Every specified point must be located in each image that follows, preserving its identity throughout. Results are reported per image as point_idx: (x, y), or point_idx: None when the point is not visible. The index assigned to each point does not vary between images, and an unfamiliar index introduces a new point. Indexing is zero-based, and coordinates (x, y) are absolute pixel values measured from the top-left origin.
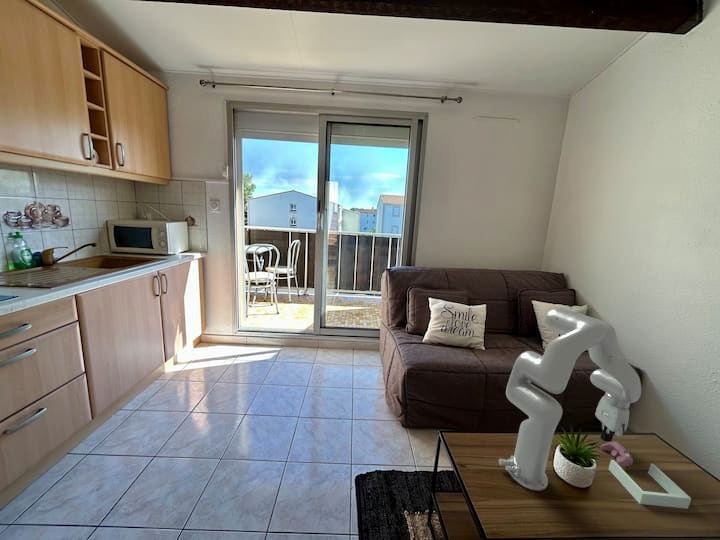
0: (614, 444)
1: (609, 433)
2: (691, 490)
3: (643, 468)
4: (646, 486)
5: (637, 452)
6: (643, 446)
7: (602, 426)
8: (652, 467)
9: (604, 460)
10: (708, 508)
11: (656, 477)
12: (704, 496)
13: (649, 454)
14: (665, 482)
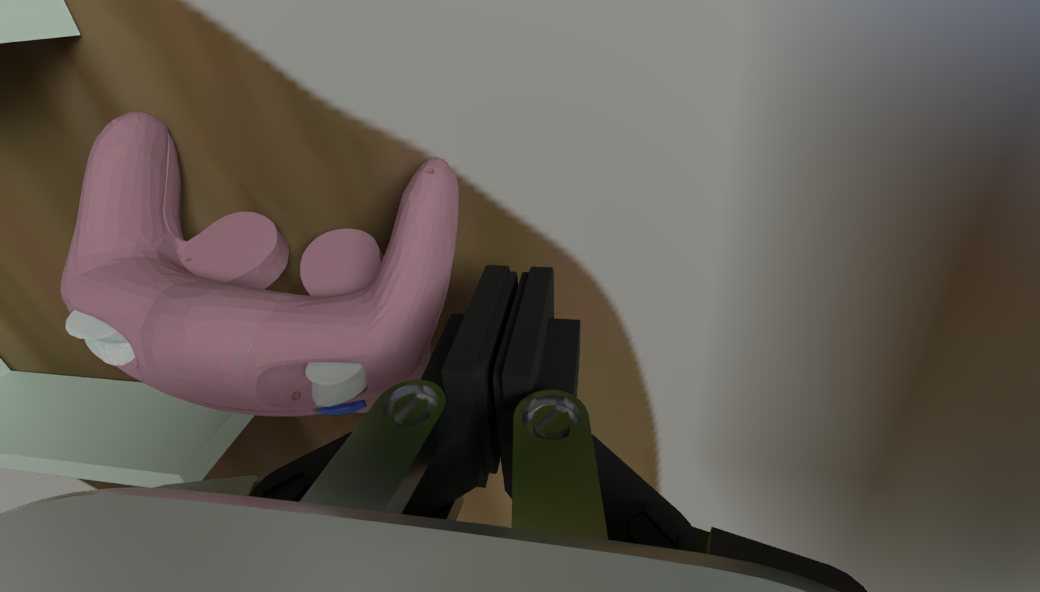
0: (297, 329)
1: (384, 413)
2: None
3: None
4: (51, 265)
5: (490, 486)
6: None
7: (575, 435)
8: (173, 454)
9: (222, 54)
10: (105, 484)
11: (163, 407)
12: None
13: None
14: (75, 422)
